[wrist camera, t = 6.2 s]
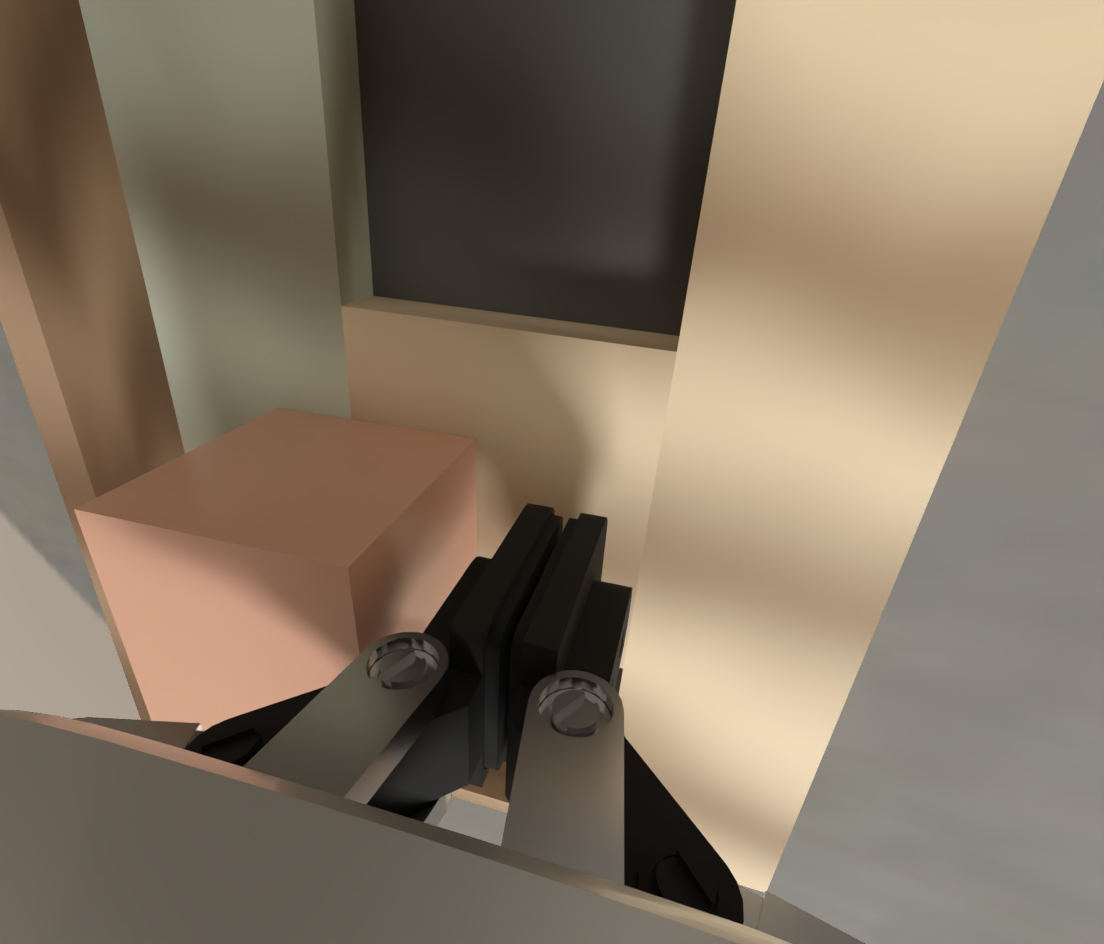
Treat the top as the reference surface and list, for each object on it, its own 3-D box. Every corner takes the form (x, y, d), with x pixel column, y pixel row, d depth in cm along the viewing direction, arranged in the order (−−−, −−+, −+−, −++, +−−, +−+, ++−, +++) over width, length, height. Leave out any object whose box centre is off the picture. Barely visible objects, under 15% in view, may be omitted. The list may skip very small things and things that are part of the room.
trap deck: (81, -104, 12) (-192, -225, 8) (1134, -124, 8) (1439, -354, 5) (256, 693, 22) (166, 790, 18) (763, 841, 18) (771, 998, 15)
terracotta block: (277, 407, 14) (74, 508, 10) (475, 438, 13) (347, 568, 9) (306, 579, 16) (152, 724, 12) (478, 617, 15) (377, 792, 11)
